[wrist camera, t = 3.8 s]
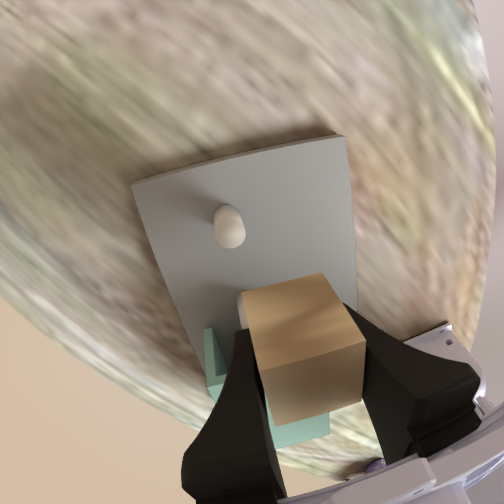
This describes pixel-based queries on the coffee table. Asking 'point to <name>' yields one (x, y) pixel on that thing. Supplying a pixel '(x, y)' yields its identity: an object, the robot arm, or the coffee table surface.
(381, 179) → the coffee table surface
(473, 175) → the coffee table surface
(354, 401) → the brown block
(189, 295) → the base
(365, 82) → the coffee table surface
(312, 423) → the block
